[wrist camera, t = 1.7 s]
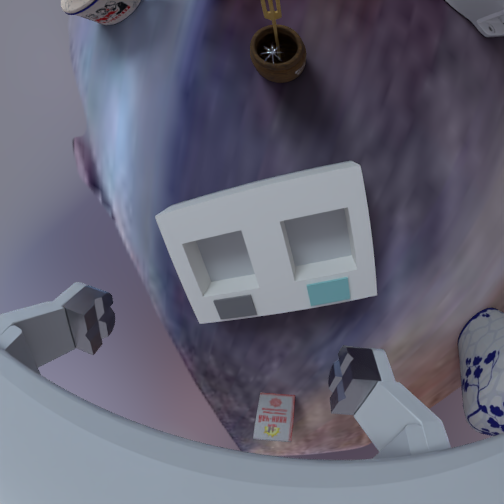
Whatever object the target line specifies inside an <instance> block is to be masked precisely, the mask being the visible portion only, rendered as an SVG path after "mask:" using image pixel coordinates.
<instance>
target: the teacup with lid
mask: <svg viewBox="0 0 504 504" xmlns="http://www.w3.org/2000/svg"><path fill="white" fill-rule="evenodd" d="M140 1H141V0H61V7H62V9H63V11H64V12H65V13H66V14H69V15H77V16H80V17H83V18H86V19H89V20H92V21H95V22H97V23H100V24H103V25H113V24H116V23H118V22H120V21H122V20H124V19H125V18H127V17H128V16H129V15H130V14H131V13H132V12H133V11H134V10H135V9H136V8H137V6H138V5H139V3H140Z"/></svg>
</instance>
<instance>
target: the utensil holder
mask: <svg viewBox="0 0 504 504" xmlns="http://www.w3.org/2000/svg"><path fill="white" fill-rule="evenodd" d="M268 2H269V7H270V11H269V12H268V11H267V9H266V5H265V0H261V4H262V8H263V13H264V17H265V18H266V19H270V20H272V23H273V25H269V26H265V27H263V28H261V29H260V30H258V31H257V32H256V33H255V34H254V36H253V37H252V40H251V44H250V56H251V60H252V62H253V64H254V66H255V68H256V69H257V71H258V72H259V73H260V74H261V75H262V76H263V77H264V78H266V79H267V80H270V81H272V82H277V83H284V82H289V81H292V80H294V79H295V78H297V77H298V76H299V75H300V74H301V73H302V71H303V69H304V67H305V63H306V49H305V46H304V44H303V42H302V40H301V38H300V36H299V35H298V34H297V33H296V32H295V31H294V30H293V29H291V28H289V27H287V26H284V25H276V21H275V20H276V19H278V18H281V17H282V16H281V8H280V1H279V0H276V6H277V11H274V9H273V3H272V0H268Z"/></svg>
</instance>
